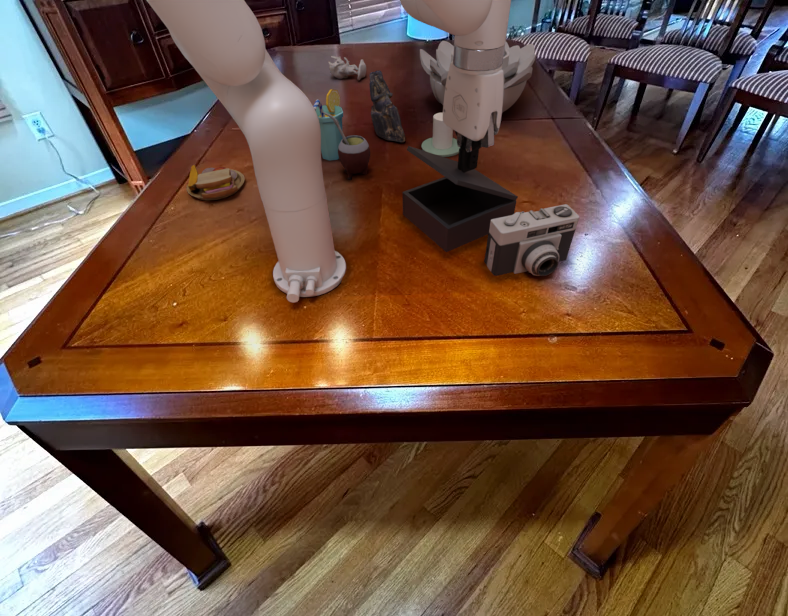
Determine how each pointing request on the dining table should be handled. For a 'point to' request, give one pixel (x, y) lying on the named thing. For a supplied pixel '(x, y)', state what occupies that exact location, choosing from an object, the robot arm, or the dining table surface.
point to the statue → (384, 110)
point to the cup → (330, 124)
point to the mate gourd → (352, 152)
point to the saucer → (448, 152)
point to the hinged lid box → (453, 212)
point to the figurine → (346, 68)
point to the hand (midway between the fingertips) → (467, 168)
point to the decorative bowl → (513, 69)
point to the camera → (530, 241)
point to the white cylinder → (441, 133)
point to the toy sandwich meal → (214, 183)
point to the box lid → (461, 174)
